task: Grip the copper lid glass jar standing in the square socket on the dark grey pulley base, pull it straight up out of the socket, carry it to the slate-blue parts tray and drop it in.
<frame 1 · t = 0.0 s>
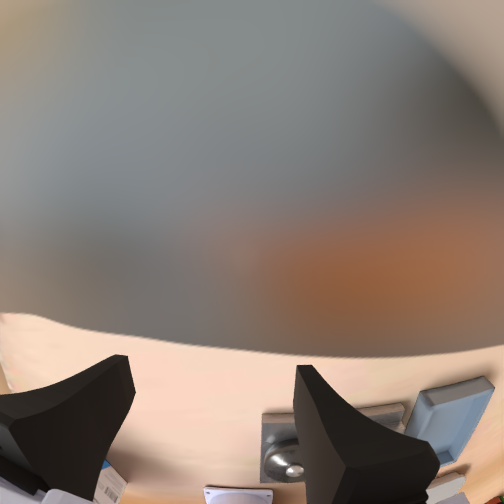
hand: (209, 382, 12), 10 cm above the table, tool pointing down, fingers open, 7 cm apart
parts tray: (437, 425, 24), on the table
ink box: (97, 462, 27), on the table
pulley base: (327, 445, 24), on the table
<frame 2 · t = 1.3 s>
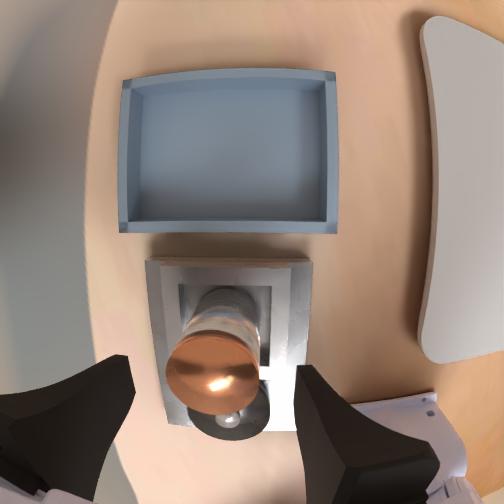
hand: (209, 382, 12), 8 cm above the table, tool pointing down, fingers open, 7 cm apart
parts tray: (228, 152, 17), on the table
copper lid glass jar: (227, 319, 18), point 1 cm above the table, touching pulley base
tablet: (496, 191, 18), on the table
pulley base: (230, 351, 20), on the table
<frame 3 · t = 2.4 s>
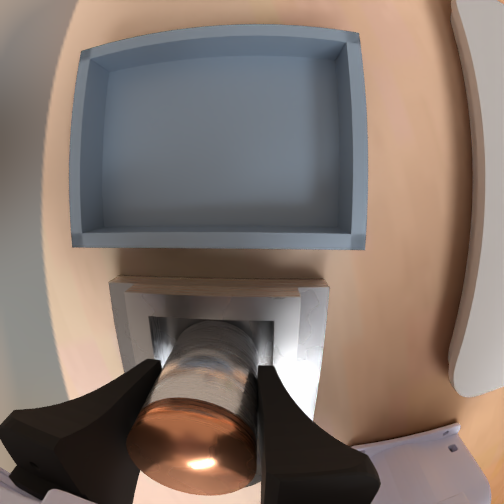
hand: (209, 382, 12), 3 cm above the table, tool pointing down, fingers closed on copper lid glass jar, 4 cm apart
parts tray: (215, 137, 13), on the table
copper lid glass jar: (215, 358, 13), point 1 cm above the table, touching gripper, pulley base
pulley base: (221, 391, 15), on the table
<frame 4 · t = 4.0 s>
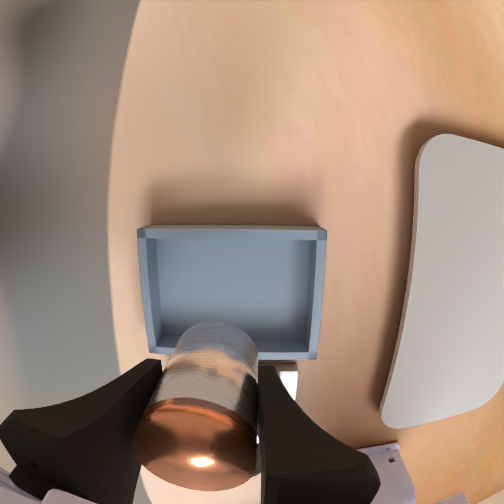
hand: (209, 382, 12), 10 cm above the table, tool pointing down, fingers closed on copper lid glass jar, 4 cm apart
parts tray: (232, 287, 22), on the table
copper lid glass jar: (216, 357, 14), point 8 cm above the table, touching gripper
tablet: (467, 292, 22), on the table
pulley base: (235, 420, 24), on the table
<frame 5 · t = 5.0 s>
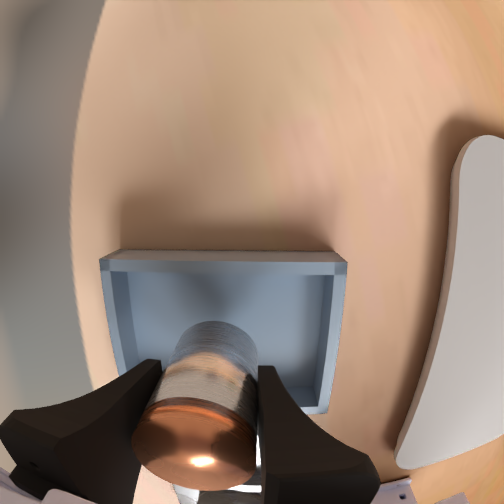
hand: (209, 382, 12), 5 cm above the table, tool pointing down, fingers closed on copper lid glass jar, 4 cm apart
parts tray: (224, 327, 17), on the table
copper lid glass jar: (216, 357, 14), point 3 cm above the table, touching gripper
tablet: (497, 320, 17), on the table
pulley base: (231, 465, 19), on the table
when the fingers open (4 cm above the table, at t = 5.7 s): copper lid glass jar drops 1 cm, resting on parts tray.
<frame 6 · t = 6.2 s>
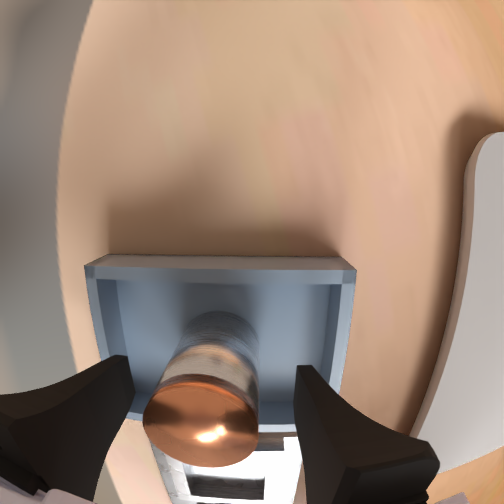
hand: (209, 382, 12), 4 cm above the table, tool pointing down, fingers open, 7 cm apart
parts tray: (220, 338, 15), on the table
copper lid glass jar: (220, 346, 15), point 1 cm above the table, touching parts tray
pulley base: (229, 478, 18), on the table
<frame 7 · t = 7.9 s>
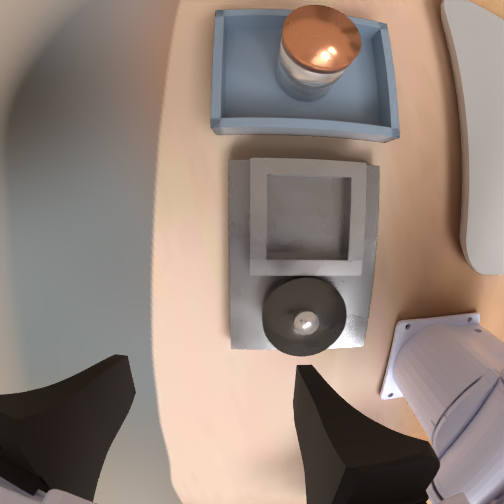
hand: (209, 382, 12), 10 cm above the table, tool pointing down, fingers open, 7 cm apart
parts tray: (303, 76, 18), on the table
copper lid glass jar: (304, 76, 18), point 1 cm above the table, touching parts tray
pulley base: (302, 257, 21), on the table
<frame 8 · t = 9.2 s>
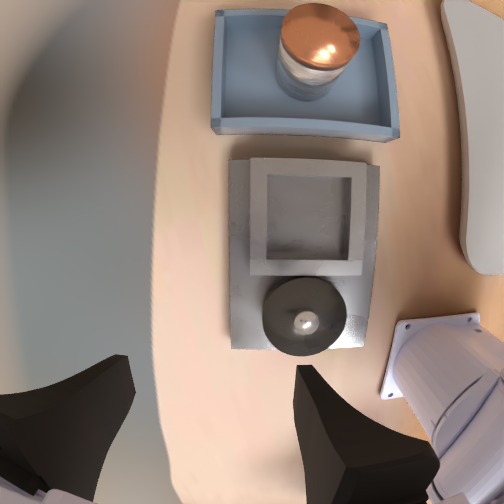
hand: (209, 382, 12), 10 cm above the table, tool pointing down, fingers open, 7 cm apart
parts tray: (303, 76, 18), on the table
copper lid glass jar: (304, 76, 18), point 1 cm above the table, touching parts tray
pulley base: (302, 257, 21), on the table
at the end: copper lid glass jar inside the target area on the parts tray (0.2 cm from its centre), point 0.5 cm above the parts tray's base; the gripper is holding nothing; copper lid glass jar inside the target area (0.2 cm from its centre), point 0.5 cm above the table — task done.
